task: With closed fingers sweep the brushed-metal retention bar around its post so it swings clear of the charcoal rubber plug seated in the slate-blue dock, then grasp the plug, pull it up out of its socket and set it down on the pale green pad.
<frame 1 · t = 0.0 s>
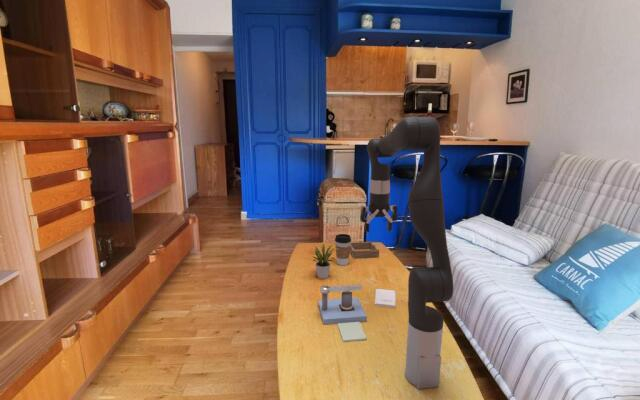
hand: (378, 231, 137), 29 cm above the table, fingers open, 8 cm apart
coaster tray: (363, 253, 194), on the table
clip: (340, 288, 132), point 10 cm above the table, hinge at 0.0°
coffee cup: (342, 263, 181), on the table
house plant: (325, 276, 166), on the table
pad: (351, 332, 122), on the table
external hard drive: (385, 300, 145), on the table
dock: (341, 312, 134), on the table
plug: (346, 312, 134), resting in dock
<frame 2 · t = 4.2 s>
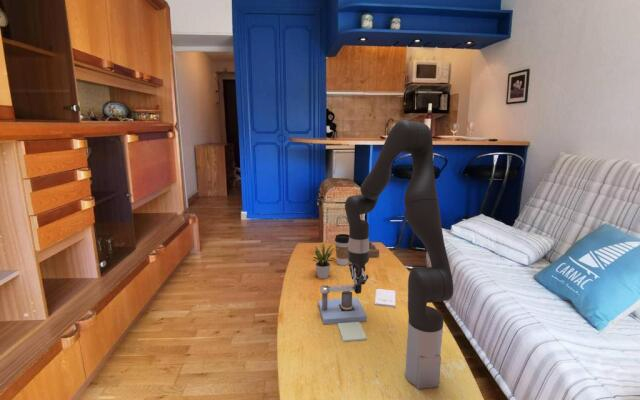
hand: (357, 292, 130), 9 cm above the table, fingers closed
clip: (340, 288, 132), point 10 cm above the table, hinge at 0.9°, touching gripper
everything else where it was.
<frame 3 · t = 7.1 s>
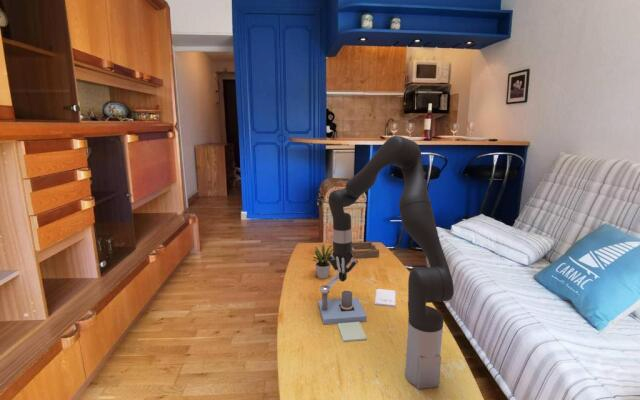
hand: (342, 280, 140), 9 cm above the table, fingers closed
clip: (331, 282, 136), point 10 cm above the table, hinge at 57.0°, touching gripper
everything else where it was.
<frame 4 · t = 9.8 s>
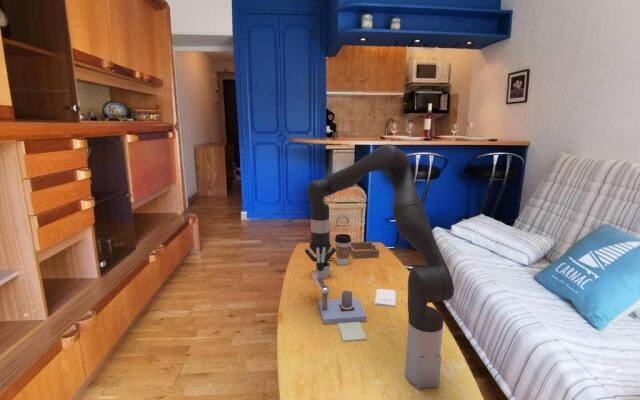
hand: (320, 270, 142), 12 cm above the table, fingers closed
clip: (319, 282, 137), point 10 cm above the table, hinge at 99.7°
everything else where it was.
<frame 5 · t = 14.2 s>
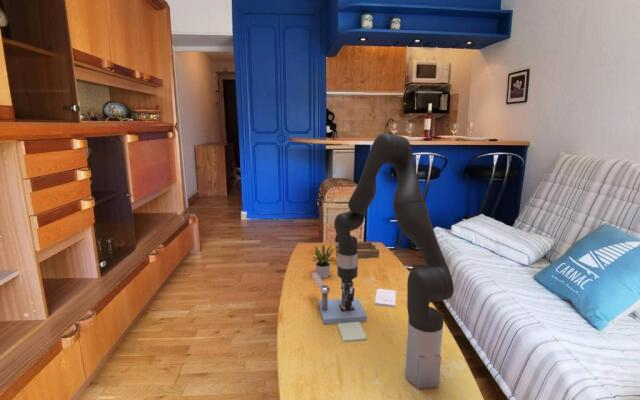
hand: (346, 305, 134), 3 cm above the table, fingers closed on plug, 4 cm apart
plug: (346, 312, 134), resting in dock, touching gripper
everything else where it was.
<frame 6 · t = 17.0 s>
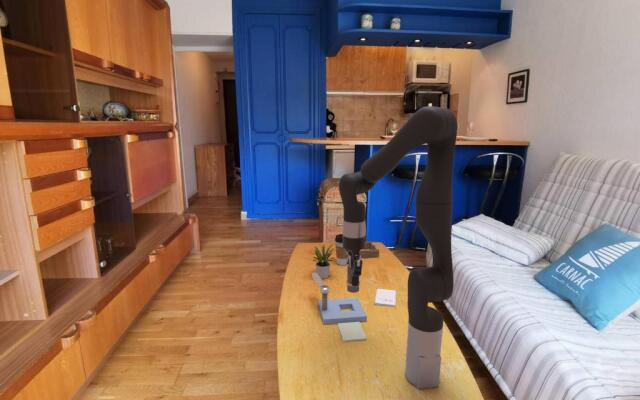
hand: (353, 282, 117), 19 cm above the table, fingers closed on plug, 4 cm apart
plug: (353, 290, 118), point 16 cm above the table, touching gripper
everything else where it was.
when the fingers open (4 cm above the table, at t = 19.8 s): plug stays where it is, resting on pad.
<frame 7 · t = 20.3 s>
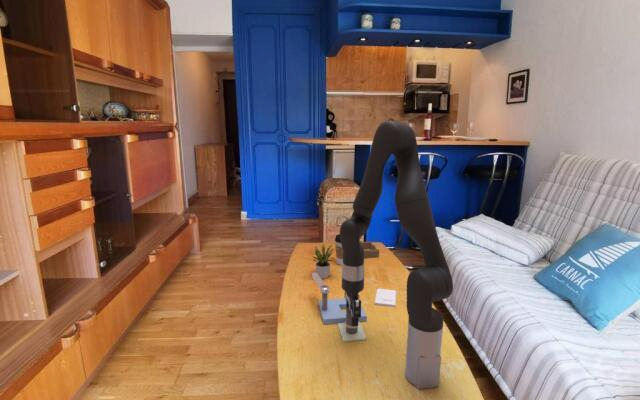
hand: (351, 318, 120), 5 cm above the table, fingers open, 8 cm apart
plug: (351, 330, 121), point 1 cm above the table, touching pad
everything else where it was.
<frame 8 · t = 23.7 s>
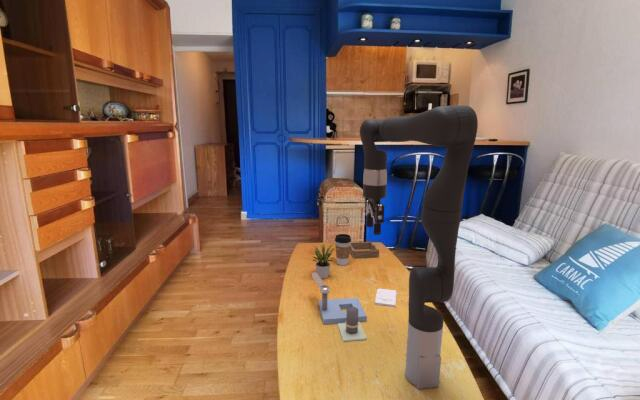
hand: (373, 230, 117), 36 cm above the table, fingers open, 8 cm apart
nothing on the table moved.
at the end: clip at +100° (first picture: +0°); plug 0.1 cm from the pad (horizontally); plug point 0.6 cm above the table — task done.
